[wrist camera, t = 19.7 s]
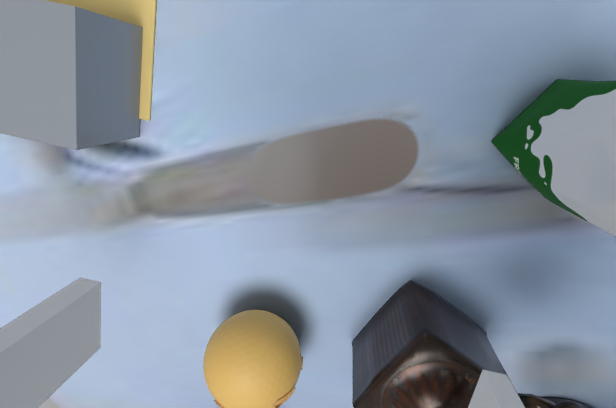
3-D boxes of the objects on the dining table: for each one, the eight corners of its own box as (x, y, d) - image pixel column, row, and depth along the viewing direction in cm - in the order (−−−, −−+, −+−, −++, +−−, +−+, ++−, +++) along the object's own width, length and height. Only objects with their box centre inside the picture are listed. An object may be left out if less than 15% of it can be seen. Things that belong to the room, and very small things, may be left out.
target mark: (150, 120, 36) (149, 120, 36) (37, 96, 36) (35, 96, 36) (157, -15, 32) (156, -15, 32) (31, -39, 33) (29, -40, 33)
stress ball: (237, 283, 41) (172, 358, 38) (274, 300, 33) (193, 398, 29) (292, 335, 45) (236, 409, 41) (337, 363, 36) (273, 459, 32)
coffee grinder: (426, 392, 42) (478, 600, 25) (349, 341, 41) (348, 519, 24) (526, 300, 37) (677, 479, 20) (441, 240, 36) (523, 373, 19)
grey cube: (139, 136, 37) (76, 150, 28) (45, 116, 37) (-45, 123, 29) (144, 27, 33) (75, 6, 25) (40, 7, 34) (-61, -21, 25)
